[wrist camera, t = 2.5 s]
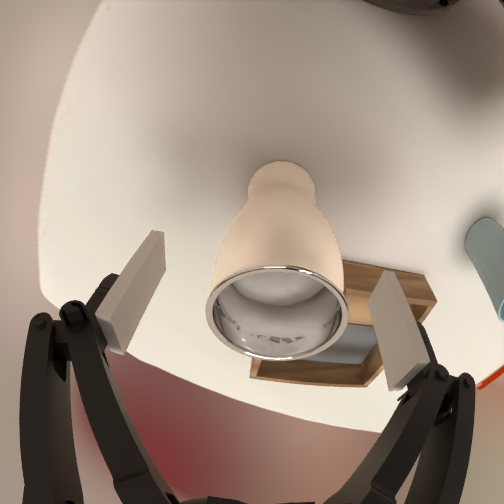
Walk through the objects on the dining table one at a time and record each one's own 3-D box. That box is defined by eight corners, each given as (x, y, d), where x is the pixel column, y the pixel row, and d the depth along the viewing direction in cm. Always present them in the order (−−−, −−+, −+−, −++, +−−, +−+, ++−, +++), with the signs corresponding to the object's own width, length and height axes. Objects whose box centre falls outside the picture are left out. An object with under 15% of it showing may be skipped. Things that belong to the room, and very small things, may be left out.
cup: (447, 247, 25) (489, 312, 17) (483, 196, 21) (539, 250, 12) (474, 270, 26) (510, 328, 18) (507, 227, 22) (552, 279, 14)
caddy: (279, 248, 28) (278, 277, 24) (424, 275, 28) (437, 301, 24) (252, 352, 39) (249, 377, 35) (362, 363, 39) (366, 387, 35)
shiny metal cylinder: (230, 205, 25) (182, 334, 13) (265, 141, 22) (239, 230, 9) (294, 237, 27) (297, 375, 14) (334, 180, 23) (385, 303, 11)
